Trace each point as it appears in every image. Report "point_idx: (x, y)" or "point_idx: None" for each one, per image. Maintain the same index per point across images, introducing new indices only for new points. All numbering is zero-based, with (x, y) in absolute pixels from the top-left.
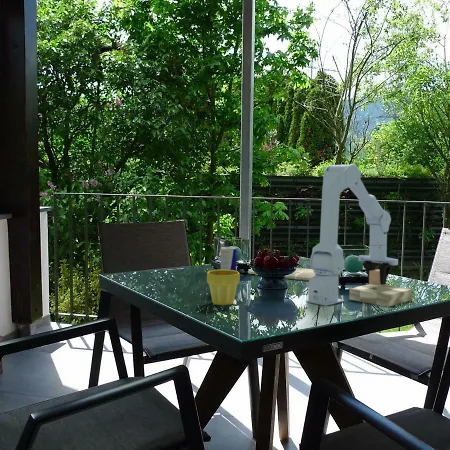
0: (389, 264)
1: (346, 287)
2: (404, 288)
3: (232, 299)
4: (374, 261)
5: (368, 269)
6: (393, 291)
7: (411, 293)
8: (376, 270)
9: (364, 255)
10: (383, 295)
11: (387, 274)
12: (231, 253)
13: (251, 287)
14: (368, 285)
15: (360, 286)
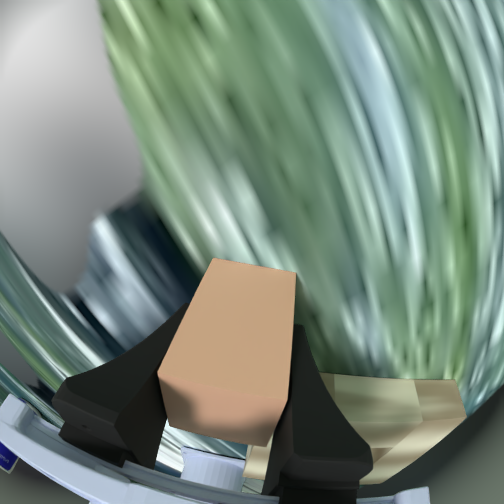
0: (345, 499)
1: (88, 299)
2: (437, 425)
3: (125, 477)
4: (164, 487)
5: (160, 430)
6: (393, 463)
7: (459, 404)
8: (207, 416)
9: (10, 447)
10: (366, 482)
11: (318, 390)
12: (12, 467)
13: (17, 383)
14: (269, 446)
15: (252, 459)
